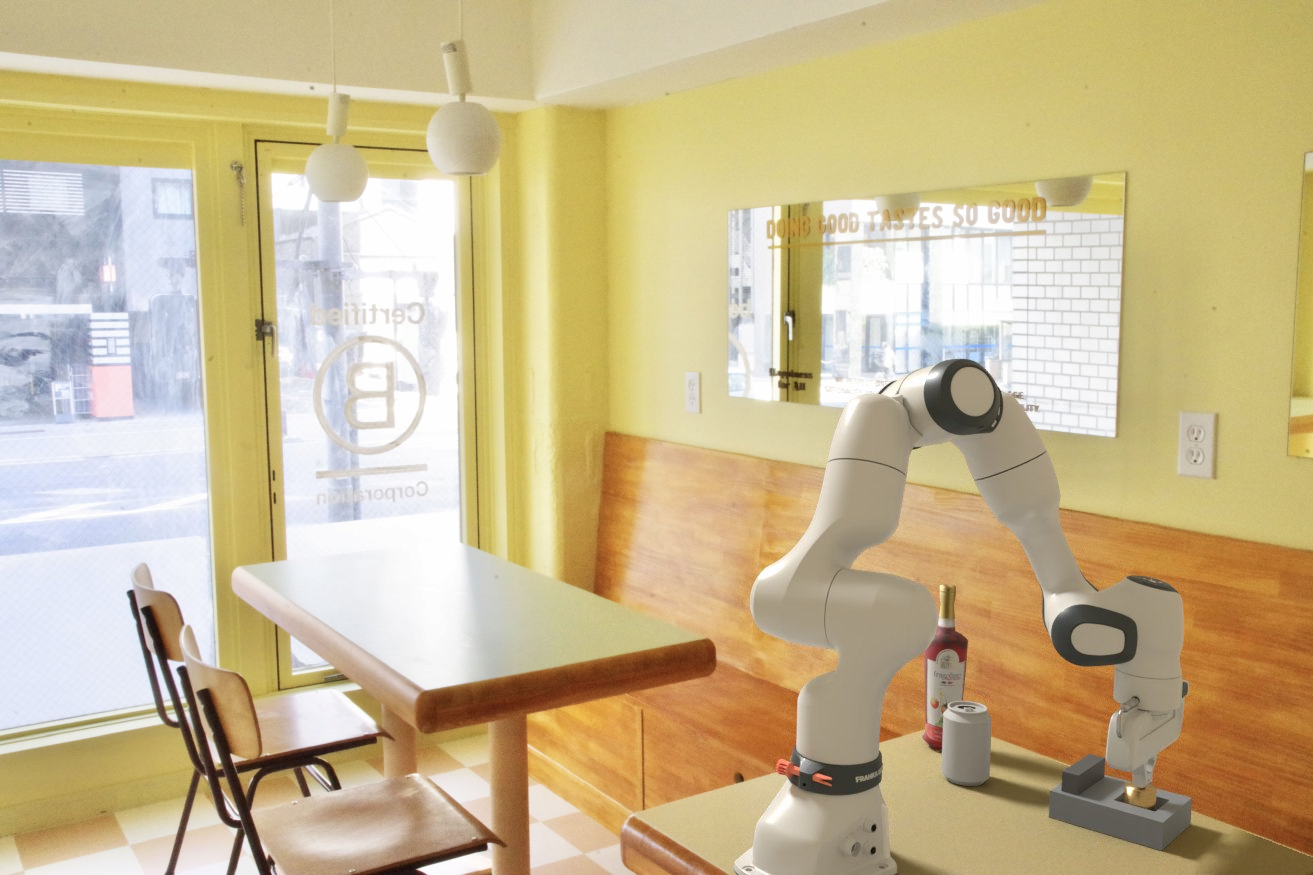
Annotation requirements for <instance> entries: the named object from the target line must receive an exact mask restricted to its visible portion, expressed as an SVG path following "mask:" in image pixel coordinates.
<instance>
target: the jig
mask: <svg viewBox="0 0 1313 875" xmlns="http://www.w3.org/2000/svg"><path fill="white" fill-rule="evenodd" d="M1105 770H1106V757H1105V756H1100V755H1095V754H1092V753H1088V754H1087V755H1086V756H1083V757H1082V758H1081V759H1079V760H1077V761H1075V763H1072V764H1071V765H1070V766H1068V767H1067V768H1065V769H1064V770H1062V772H1061V783H1060V784H1057V785H1056V786H1055V787H1052V789H1049V804H1048V805H1049V806H1048V818H1050V819H1054V820H1057V821H1061V822H1064V823H1067V824H1071V825H1074V826H1077V827H1081V828H1084V829H1087V830H1091V831H1094V832H1097V833H1100V834H1103V835H1108V836H1110V837H1114V838H1117V839H1120V840H1124V841H1128V842H1131V843H1134V844H1138V845H1139V846H1140V845H1141V846H1144V847H1147V848H1150V849H1153V850H1158V851H1163V850H1165V848H1166V847H1168V846H1169V845H1170V844H1171V843H1172V842H1174V840H1176V838H1177V837H1178V836H1180V835H1181V834H1182V833H1183V832H1184V831H1185V830H1186V829H1188V828H1189V827H1190V826H1191V825H1192V824H1191V823H1192V805H1193V803H1192V802H1193V797H1189V796H1187V795H1183V794H1179V793H1175V792H1171V791H1168V790H1165V789H1164V790H1163V789H1160V788H1157V794H1156V811H1151V810H1147V809H1144V808H1140V807H1137V806H1133V805H1130V804H1126V803H1124V796H1125V783H1127V782H1130V780H1126V779H1123V778H1118V777H1116V776H1111V775H1107V774H1105V773H1106V772H1105Z"/></svg>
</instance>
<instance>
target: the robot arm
mask: <svg viewBox="0 0 1313 875" xmlns="http://www.w3.org/2000/svg"><path fill="white" fill-rule="evenodd" d="M839 417H840V418H838V419H839V420H838V422H837V425H836V427H835V430H834V434H833V436H832V439H831V444H830V448H829V452H828V456H827V461H826V465H825V471H824V476H823V481H822V485H821V489H820V493H819V497H818V500H817V505H816V509H815V510H814V511H815V512H814V513H813V518H812V519H811V521H810V523H809V526H807V529H806V530H805V532H804V533H803V535H802V536H801V538H800V539H799V540H798V542H797V543H796V544H795V545H794V546H793V547H792V548H791V549H790V551H788V552H787V553H786V554H785V555H784V556H783V557H781V558H779V559H778V560H776V561H774V562H773V563H771V564H770V565H767V566H766V567H765V568H764V569H763V570H762V571H760V573H759V574H758V575H757V577H756V579H755V580H754V581H753V584H752V587H751V590H750V594H749V607H750V613H751V616H752V619H753V621H754V623H755V625H756V628H757V629H759V630H760V632H763V633H765V634H767V635H769V636H772V637H775V638H776V639H780V640H782V641H784V642H788V643H791V644H795V645H801V646H802V645H803V646H807V647H814V648H820V649H826V650H832V651H835V652H837V653H838V657H837V658H838V659H837V660H838V661H837V666H836V669H834V670H832V671H829V672H828V671H827V672H825V673H822V674H820V675H818V676H816V677H814V678H812V679H810V680H809V681H807V682H806V683H805V684H804V686H803V687H802V688H801V690H800V692H799V694H798V696H797V705H796V706H797V707H796V708H797V709H796V740H795V741H796V743H795V746H794V747H793V749H792V753H791V755H790V758H789V761H788V760H786V759H784V758H780V759H779V760H778V761H777V762H776V765H775V772H776V773H777V774H778V775H779V776H785V777H787V778H786V781H785V782H784V784H783V786H782V787H781V788H780V790H779V791H778V793H777V794H776V795H775V797H774V798H773V799H772V801H771V802H770V804H769V806H768V807H767V808H766V809H765V811H763V814H762V815H761V817H760V818H759V819H758V820H757V822H756V825H755V828H754V835H753V841H752V842H753V843H752V846H751V847H750V848H749V849H747V850H746V851H745V852H744V853H742V854H741V855H740V856H739V857H738V858H736V860H734V863H733V869H734V871H735V873H737V875H896V874H897V873H898V864H897V862H896V861H895V859H894V858H892V856H891V846H890V845H891V842H890V827H889V825H890V824H889V812H888V811H889V810H888V807H887V804H886V802H885V799H884V796H883V794H882V792H881V788H880V783H881V782H882V780H883V776H882V775H883V771H884V770H883V768H884V763H883V754H882V751H881V750H880V737H881V736H880V735H881V722H882V713H883V704H884V701H885V700H884V699H885V697H886V696H885V695H886V693H887V690H888V689H889V688H888V687H889V686H890V684H891V682H892V681H893V679H894V678H895V676H896V675H897V674H898V672H899V671H900V670H902V668H903V667H904V666H905V665H907V664H908V663H909V662H911V661H912V660H914V659H915V658H918V657H919V656H920V655H922V654H924V651H925V650H926V649H927V648H928V647H929V646H930V644H931V643H932V641H933V639H934V637H935V635H936V632H937V628H938V621H939V610H938V609H939V608H938V606H937V603H936V600H935V598H934V596H933V594H932V592H931V591H930V590H929V588H928V587H927V586H926V585H924V584H923V583H919V582H917V581H915V580H911V579H909V578H906V577H903V576H900V575H896V574H893V573H885V572H877V571H869V570H868V571H867V570H861V569H854V568H853V569H852V565H853V564H854V562H855V561H856V560H857V558H858V557H859V556H860V555H861V554H863V552H865V551H867V550H869V549H871V548H875V547H877V546H880V545H881V544H884V543H885V542H887V541H888V540H889V539H890V538H891V537H892V536H893V535H894V534H895V533H896V531H897V529H898V527H899V525H900V524H899V523H900V519H901V511H902V506H903V501H904V500H903V499H904V495H905V488H906V483H907V482H906V481H907V477H908V471H909V461H910V457H911V453H912V450H918V449H921V448H923V447H927V446H928V447H929V446H934V445H942V444H945V443H948V442H949V443H951V444H953V445H954V446H955V447H956V448H957V449H958V450H959V451H960V452H961V453H962V455H963V456H964V459H965V461H966V465H967V467H968V470H969V472H970V475H971V477H972V480H973V481H974V484H975V485H976V488H977V490H978V492H979V494H980V496H981V497H982V499H983V501H984V502H985V503H986V505H987V507H988V509H989V510H990V511H991V513H992V515H993V516H994V518H996V520H997V521H998V522H1000V523H1001V524H1002V525H1003V526H1005V527H1006V528H1008V530H1010V531H1011V533H1012V534H1013V535H1015V537H1016V539H1017V540H1018V541H1019V543H1020V544H1021V546H1022V548H1023V550H1024V553H1025V554H1026V557H1027V560H1028V561H1029V563H1030V565H1031V568H1032V570H1033V572H1034V574H1035V577H1036V579H1037V582H1038V585H1039V587H1040V590H1041V594H1042V598H1041V599H1042V601H1041V618H1042V623H1043V626H1044V628H1045V630H1046V632H1047V633H1048V635H1049V638H1050V640H1051V643H1052V646H1053V647H1054V649H1055V651H1056V652H1057V654H1058V655H1059V656H1060V657H1061V658H1062V659H1064V660H1065V661H1066V662H1068V663H1070V664H1073V665H1075V666H1079V667H1084V668H1085V667H1086V668H1087V667H1088V668H1089V667H1091V668H1092V667H1104V666H1105V667H1107V666H1114V670H1113V671H1114V674H1113V675H1114V677H1113V691H1112V692H1113V693H1112V694H1113V695H1112V697H1113V700H1114V701H1115V702H1117V703H1118V704H1120V706H1119V709H1118V710H1117V711H1115V712H1114V713H1113V714H1112V715H1111V717H1110V720H1109V725H1108V731H1107V738H1106V748H1105V749H1106V750H1105V763H1106V765H1107V767H1108V768H1111V769H1115V770H1118V771H1121V772H1122V771H1123V772H1126V773H1131V774H1132V780H1131V781H1132V783H1133V785H1134V786H1136V787H1140V788H1144V787H1145V786H1147V785H1148V784H1151V783H1152V782H1153V772H1154V769H1155V767H1156V762H1157V760H1158V754H1159V753H1160V752H1162V751H1163V750H1165V749H1166V748H1167V747H1169V746H1170V745H1171V744H1173V743H1174V742H1176V741H1177V740H1178V739H1179V737H1180V734H1181V731H1182V727H1183V720H1184V714H1185V712H1184V711H1185V704H1186V703H1185V702H1186V701H1185V697H1186V696H1188V695H1189V692H1190V691H1189V690H1190V682H1189V681H1188V680H1186V679H1184V678H1183V670H1182V666H1181V658H1180V657H1181V652H1182V649H1183V647H1184V643H1185V642H1184V640H1185V639H1184V638H1185V613H1184V603H1183V599H1182V596H1181V594H1180V593H1179V592H1178V590H1177V589H1176V588H1175V587H1174V586H1173V585H1171V584H1169V583H1168V582H1166V581H1162V580H1160V579H1157V578H1153V577H1149V576H1145V575H1133V574H1131V575H1127V576H1125V577H1124V578H1123V579H1122V580H1120V581H1119V582H1117V583H1115V584H1113V585H1111V586H1109V587H1107V588H1104V589H1101V590H1099V589H1098V587H1096V586H1095V585H1094V584H1092V583H1091V582H1090V580H1088V579H1087V578H1086V577H1085V575H1084V574H1083V573H1082V571H1081V569H1080V568H1079V565H1078V563H1077V560H1076V559H1075V556H1074V554H1073V552H1072V549H1071V548H1070V544H1069V542H1068V540H1067V538H1066V535H1065V533H1064V531H1063V528H1062V525H1061V520H1060V503H1061V495H1062V494H1061V491H1060V484H1059V481H1058V478H1057V473H1056V470H1055V467H1054V464H1053V462H1052V459H1051V456H1050V454H1049V453H1048V450H1047V448H1046V446H1045V444H1044V442H1043V440H1042V437H1041V436H1040V434H1039V432H1038V429H1036V426H1035V425H1034V424H1033V421H1032V420H1031V419H1030V417H1029V415H1028V414H1027V412H1026V411H1025V409H1024V408H1023V406H1022V405H1021V404H1020V402H1019V401H1018V399H1017V398H1015V396H1013V395H1012V394H1011V393H1008V392H1007V391H1002V390H1001V389H1000V387H999V386H998V384H997V382H996V380H995V379H994V377H993V375H991V374H990V372H989V371H988V370H987V369H986V368H985V367H984V366H983V365H981V364H980V363H979V362H977V361H974V360H972V359H968V358H951V359H945V360H943V361H940V362H938V363H937V364H932V365H929V366H926V367H921V368H918V369H915V370H912V371H911V372H909V373H907V374H905V375H903V376H902V377H900V378H898V379H895V380H893V381H890V382H889V383H887V384H886V385H885V386H883V387H882V388H881V389H880V391H878V392H877V393H865V394H860V395H858V396H855V397H853V398H851V400H849V401H848V402H847V403H846V405H845V406H844V407H843V410H842V412H841V414H840V416H839Z"/></svg>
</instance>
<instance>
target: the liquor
mask: <svg viewBox="0 0 1313 875" xmlns="http://www.w3.org/2000/svg"><path fill="white" fill-rule="evenodd" d="M956 592H957V586H956V585H953V584H940V585H939V600H940V608H939V612H938V628H937V632H936V635H935V637H934V639H933V641H932V643H931V644H930V646H929V647H928V648H927V649H926V650H925V651H924V652H923V654H924V659H923V660H924V661H923V662H924V663H923V664H924V666H923V667H924V688H925V689H924V695H925V696H924V698H925V700H924V702H925V705H924V706H925V708H924V709H925V712H924V714H925V715H924V716H925V718H924V719H925V720H924V733H923V735H922V737H921V738H922V739H923V740H924V742H925V743H926V744H927V745H928V746H929V747H930V748H931V749H934V750H937V751H942V739H943V713H944V712H945V711H946V710H947V709H948V704H949V703H950V702H953V701H964V692H965V681H966V673H967V658H968V648H969V647H968V646H969V639H968V638H967V637H966V636H965V635H963V633H960V632H958V631H957V630H956V615H955V601H956V596H957V593H956Z"/></svg>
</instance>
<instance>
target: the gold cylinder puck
mask: <svg viewBox="0 0 1313 875" xmlns="http://www.w3.org/2000/svg"><path fill="white" fill-rule="evenodd" d="M1129 781H1130V780H1129ZM1157 789H1158V788H1157V787H1156V786H1155V785H1153V784H1151V783H1149V784H1148V785H1147V786H1145V787H1144V788H1140V787H1136V786H1134V785H1133V783H1132V780H1131V781H1130V782H1127V783H1125V796H1124V803H1126V804H1130V805H1133V806H1137V807H1140V808H1144V809H1147V810H1151V811H1156V794H1157Z"/></svg>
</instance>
